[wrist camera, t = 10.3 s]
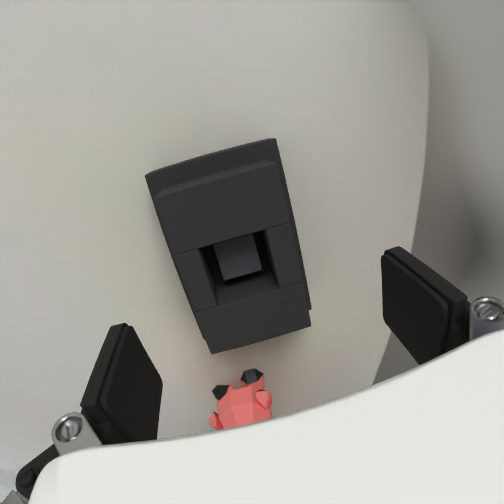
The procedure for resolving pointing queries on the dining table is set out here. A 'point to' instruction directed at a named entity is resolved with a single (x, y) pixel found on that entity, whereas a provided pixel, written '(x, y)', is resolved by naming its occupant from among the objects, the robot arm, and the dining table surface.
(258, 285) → the black socket block
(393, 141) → the dining table surface
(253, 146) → the base pad
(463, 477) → the robot arm
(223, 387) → the cat figurine
